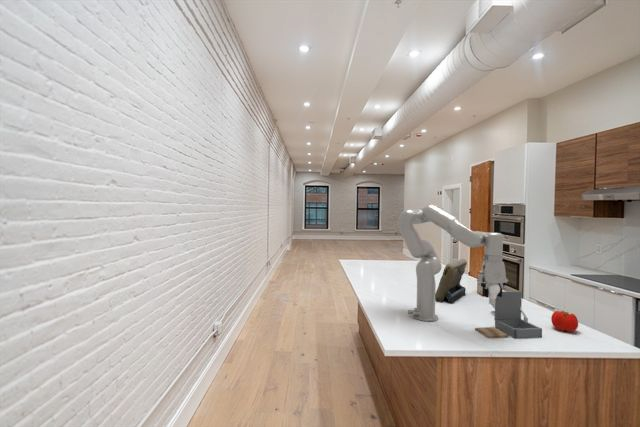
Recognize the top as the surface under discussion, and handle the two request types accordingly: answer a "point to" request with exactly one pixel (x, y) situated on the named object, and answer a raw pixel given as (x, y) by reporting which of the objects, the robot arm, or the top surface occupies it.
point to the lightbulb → (493, 292)
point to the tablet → (451, 282)
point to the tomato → (564, 321)
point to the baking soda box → (479, 286)
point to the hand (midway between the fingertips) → (492, 296)
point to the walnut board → (491, 332)
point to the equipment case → (513, 316)
